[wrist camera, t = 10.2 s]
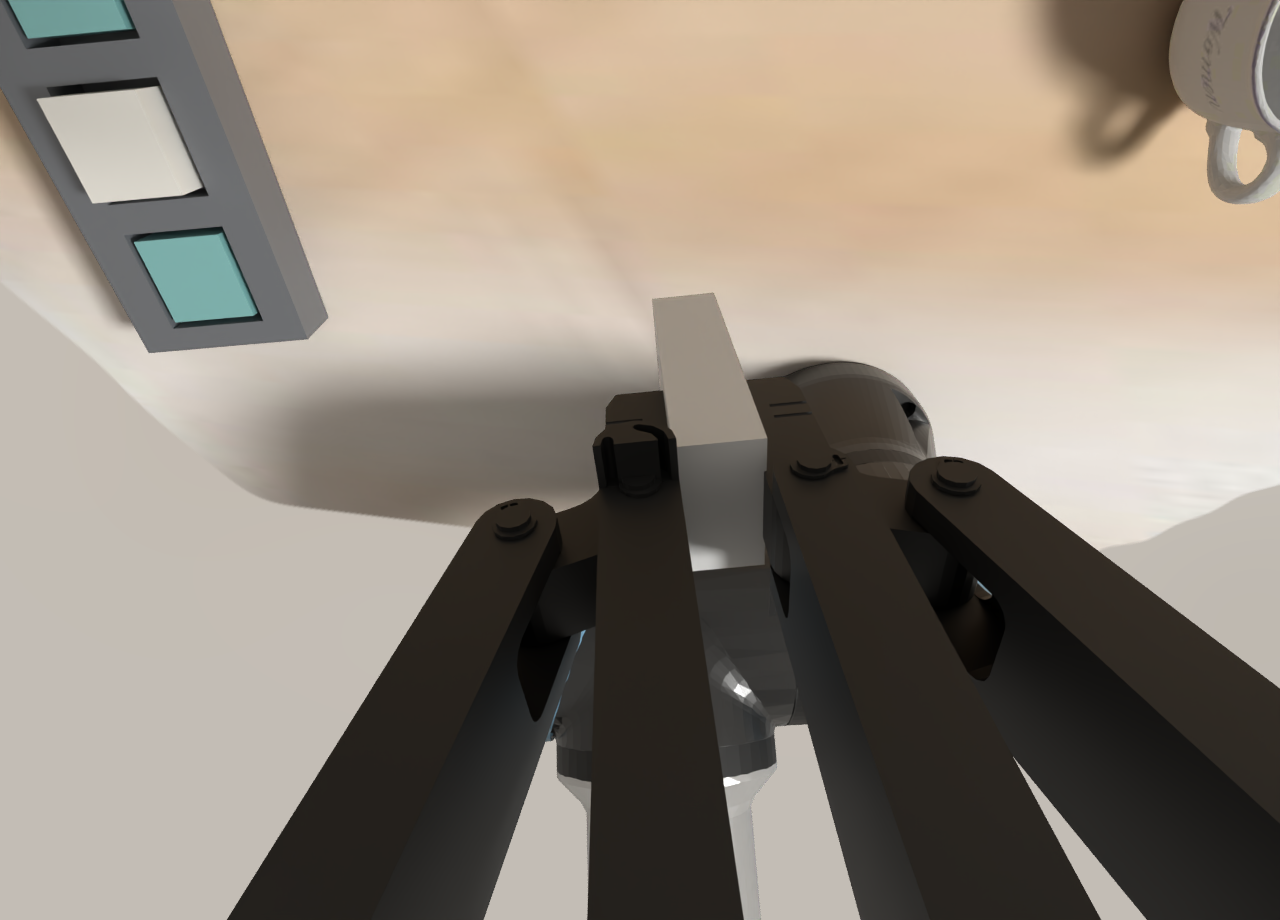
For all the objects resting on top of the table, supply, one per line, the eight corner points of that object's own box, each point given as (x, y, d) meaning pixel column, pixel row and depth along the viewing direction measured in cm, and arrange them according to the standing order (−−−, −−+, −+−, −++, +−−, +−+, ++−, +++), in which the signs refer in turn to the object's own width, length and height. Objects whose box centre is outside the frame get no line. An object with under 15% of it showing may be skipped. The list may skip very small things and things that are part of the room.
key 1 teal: (271, 301, 41) (253, 315, 39) (196, 307, 41) (175, 322, 39) (238, 223, 38) (217, 234, 36) (158, 230, 38) (133, 242, 36)
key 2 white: (207, 185, 35) (182, 195, 33) (121, 193, 35) (92, 203, 34) (163, 85, 33) (134, 89, 31) (71, 94, 33) (36, 99, 31)
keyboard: (328, 317, 43) (307, 339, 40) (180, 330, 43) (148, 353, 40) (62, -394, 26) (-7, -446, 23) (-181, -367, 26) (-282, -416, 23)
